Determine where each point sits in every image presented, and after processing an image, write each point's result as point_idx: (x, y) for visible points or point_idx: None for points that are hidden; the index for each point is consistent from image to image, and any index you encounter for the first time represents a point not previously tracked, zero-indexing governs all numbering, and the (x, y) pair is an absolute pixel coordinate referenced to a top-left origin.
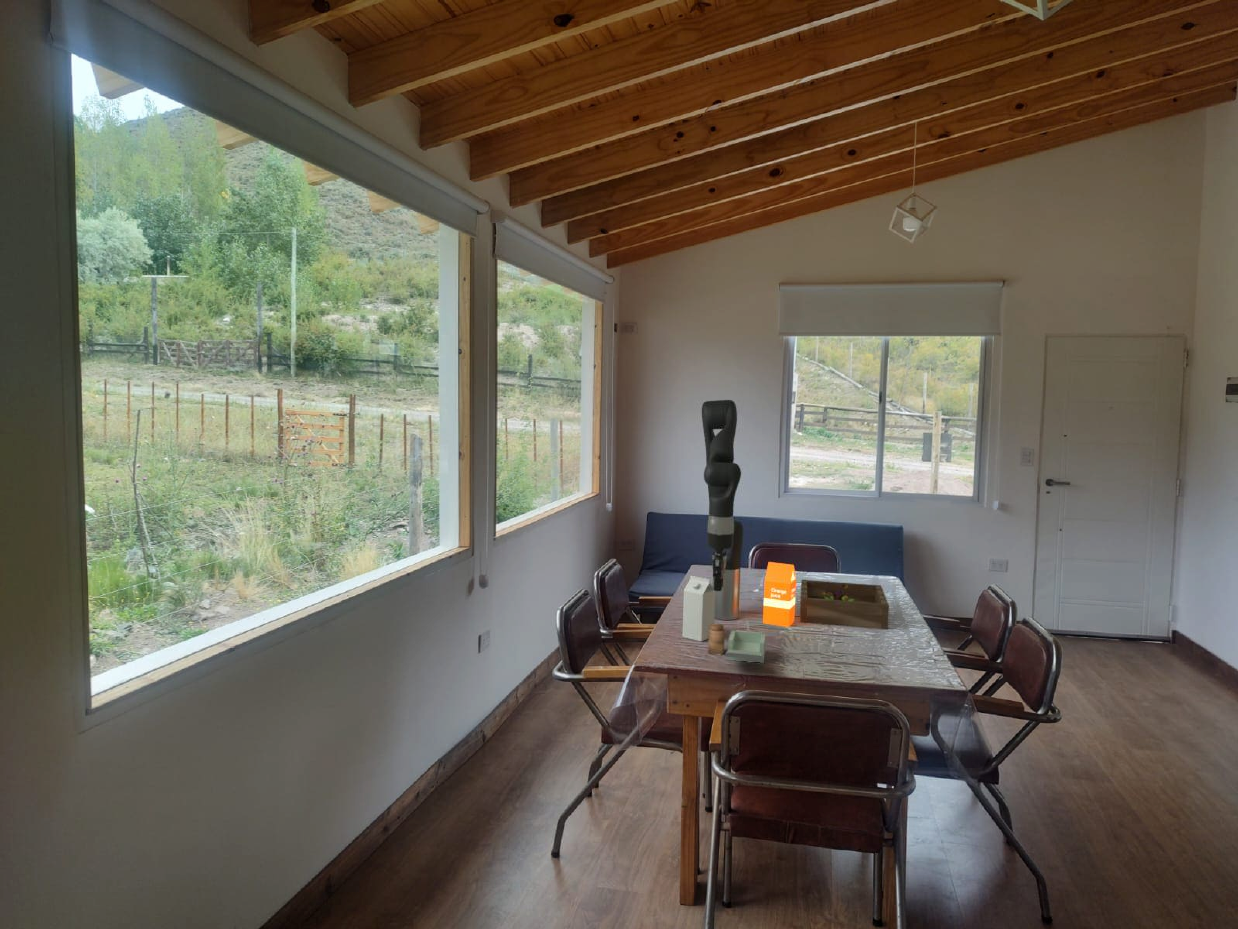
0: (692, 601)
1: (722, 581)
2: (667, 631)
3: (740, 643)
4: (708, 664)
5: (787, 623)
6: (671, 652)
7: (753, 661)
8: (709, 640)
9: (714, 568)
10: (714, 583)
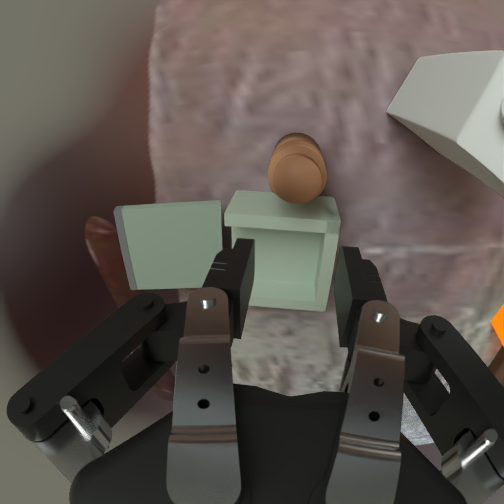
0: (462, 87)
1: (337, 310)
2: (458, 21)
3: (304, 233)
4: (189, 142)
5: (495, 324)
6: (261, 28)
7: None
8: (284, 142)
9: (70, 360)
10: (227, 265)
